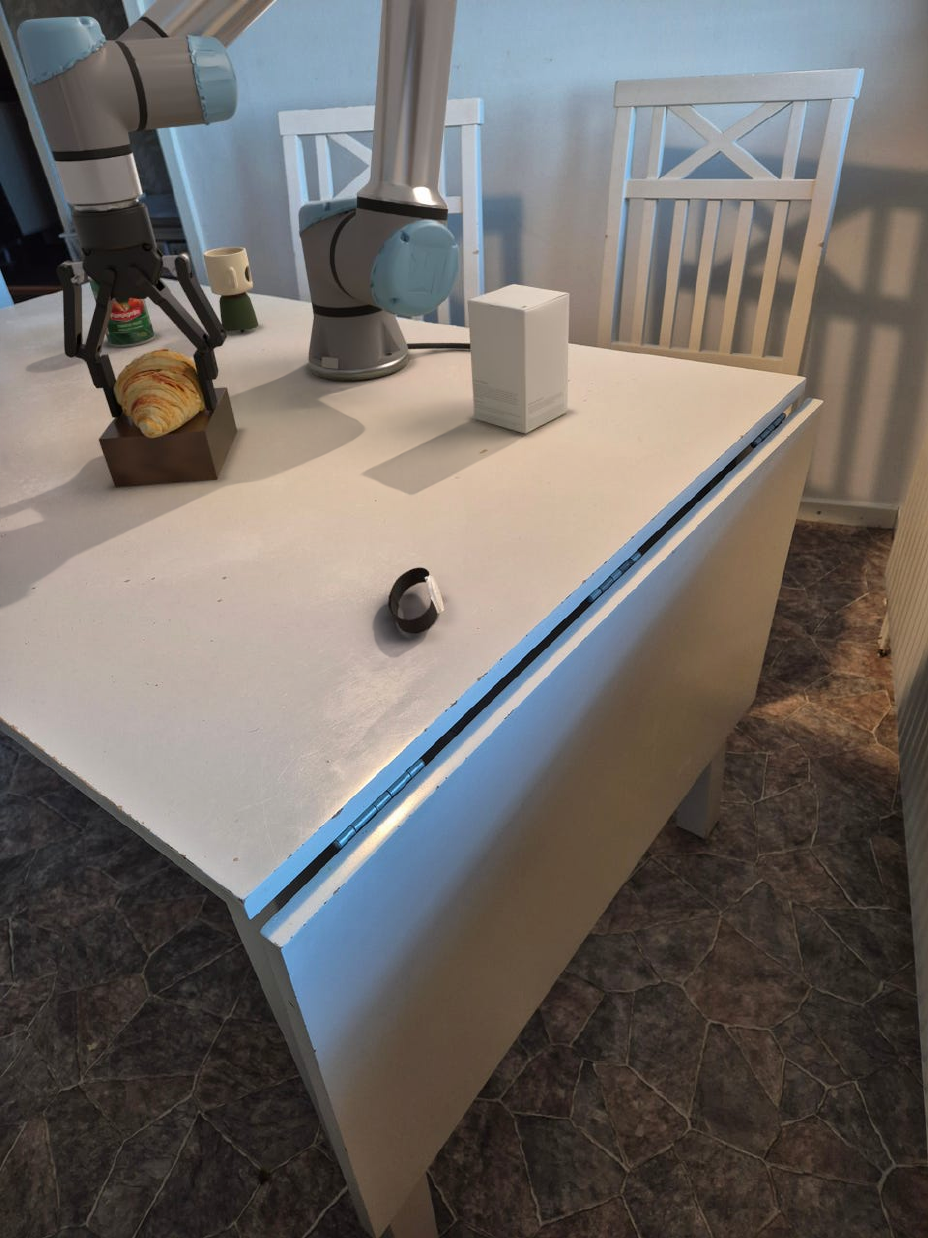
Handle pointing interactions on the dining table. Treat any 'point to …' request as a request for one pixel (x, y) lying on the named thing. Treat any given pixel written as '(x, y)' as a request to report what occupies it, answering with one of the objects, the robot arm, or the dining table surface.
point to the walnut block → (171, 448)
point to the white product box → (519, 356)
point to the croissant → (159, 392)
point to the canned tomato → (127, 321)
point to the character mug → (231, 286)
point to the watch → (404, 584)
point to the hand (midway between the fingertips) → (165, 409)
